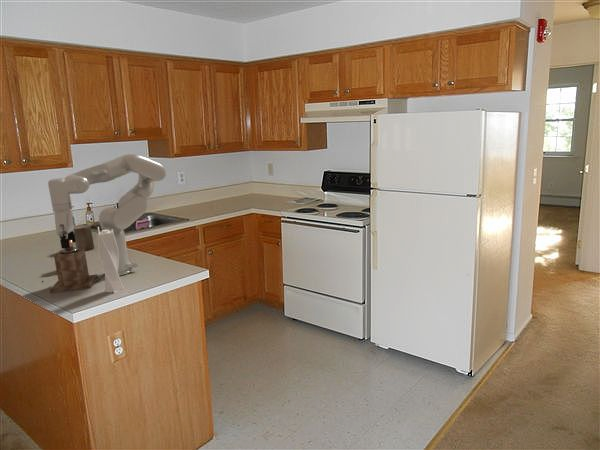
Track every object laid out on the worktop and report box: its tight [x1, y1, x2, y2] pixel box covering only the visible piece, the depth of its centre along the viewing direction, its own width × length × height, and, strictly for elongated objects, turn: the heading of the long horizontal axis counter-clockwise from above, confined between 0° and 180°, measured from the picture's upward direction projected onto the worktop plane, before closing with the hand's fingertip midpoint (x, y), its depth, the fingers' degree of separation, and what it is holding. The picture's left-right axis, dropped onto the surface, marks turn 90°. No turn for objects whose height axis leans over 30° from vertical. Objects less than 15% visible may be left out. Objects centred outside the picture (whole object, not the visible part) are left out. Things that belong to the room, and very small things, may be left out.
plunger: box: [60, 240, 78, 253], centre depth 204 cm, size 7×7×18 cm
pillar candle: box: [73, 224, 95, 252], centre depth 267 cm, size 10×10×15 cm
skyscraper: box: [97, 226, 125, 294], centre depth 193 cm, size 8×8×28 cm
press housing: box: [49, 248, 99, 293], centre depth 204 cm, size 16×15×16 cm
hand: (69, 245), depth 202 cm, fingers open, 9 cm apart
